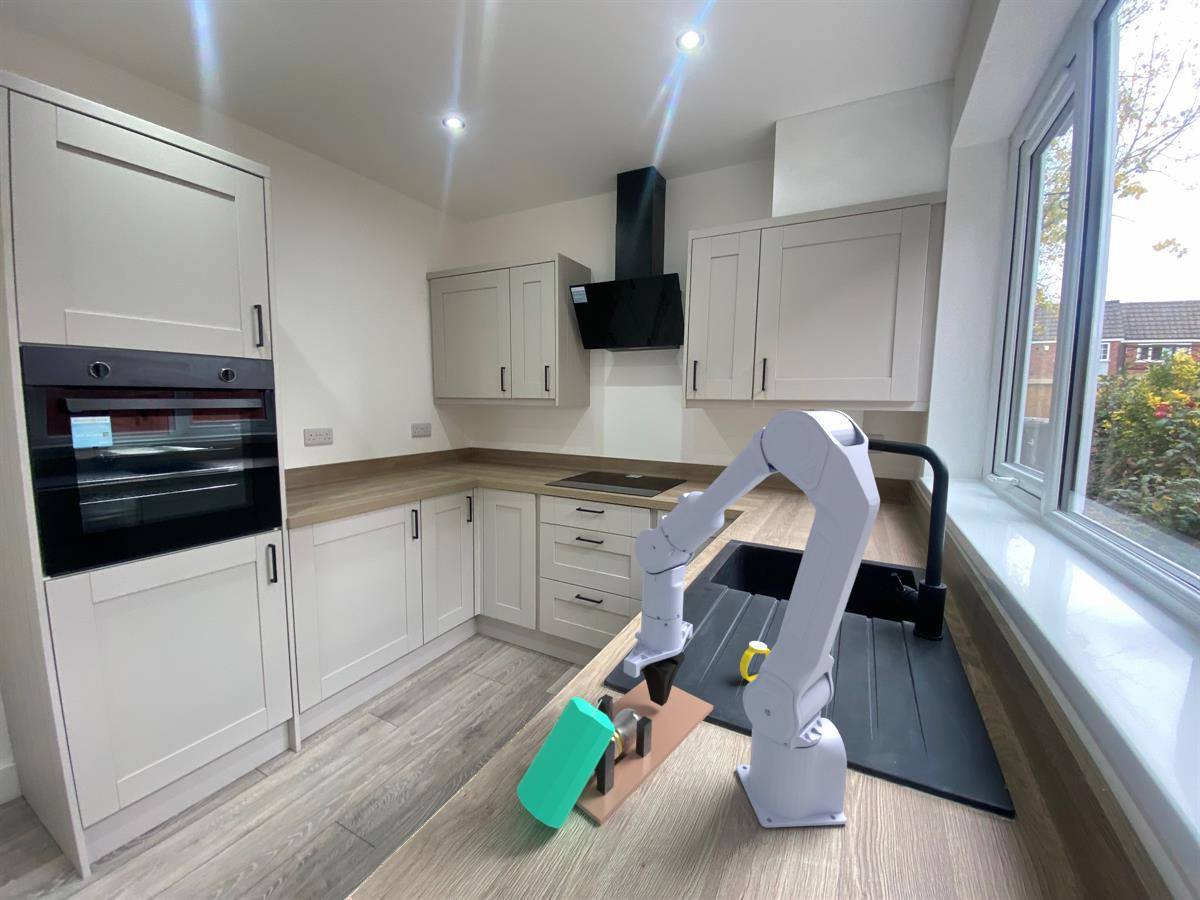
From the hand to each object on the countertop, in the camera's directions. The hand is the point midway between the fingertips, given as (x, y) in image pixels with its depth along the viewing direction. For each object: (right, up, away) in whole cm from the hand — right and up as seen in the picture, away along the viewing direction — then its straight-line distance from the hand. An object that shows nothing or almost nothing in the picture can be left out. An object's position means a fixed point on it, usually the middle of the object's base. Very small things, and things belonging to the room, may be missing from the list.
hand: (658, 701), depth 66 cm
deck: (-4, -2, -5) cm, 7 cm away
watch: (+17, -1, +9) cm, 19 cm away
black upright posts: (-8, -2, -9) cm, 12 cm away
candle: (-15, -2, -18) cm, 23 cm away
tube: (-7, -2, -9) cm, 12 cm away
